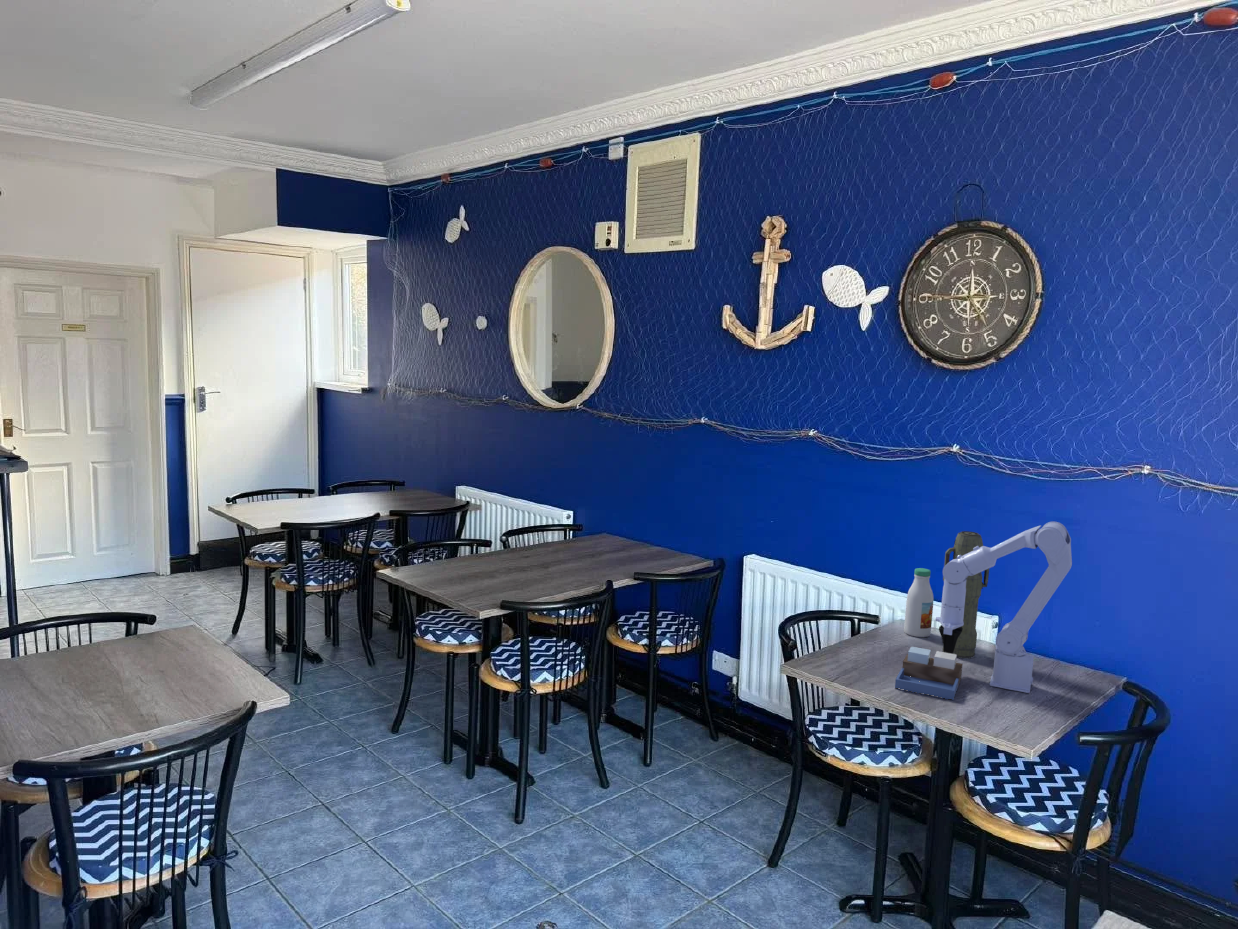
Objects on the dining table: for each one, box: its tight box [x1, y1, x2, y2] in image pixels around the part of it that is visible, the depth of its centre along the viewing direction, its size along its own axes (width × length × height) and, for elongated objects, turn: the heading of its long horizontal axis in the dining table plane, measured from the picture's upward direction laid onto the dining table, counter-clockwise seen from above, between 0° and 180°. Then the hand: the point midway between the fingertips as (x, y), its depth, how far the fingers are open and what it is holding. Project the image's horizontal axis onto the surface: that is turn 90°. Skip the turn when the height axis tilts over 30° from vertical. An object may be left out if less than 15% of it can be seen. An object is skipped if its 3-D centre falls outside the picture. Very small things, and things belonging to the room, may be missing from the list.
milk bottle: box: [903, 567, 934, 638], centre depth 268 cm, size 8×8×20 cm
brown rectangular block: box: [901, 653, 963, 687], centre depth 233 cm, size 14×7×4 cm, turn 63°
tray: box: [894, 667, 959, 701], centre depth 225 cm, size 14×10×2 cm
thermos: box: [941, 530, 990, 659], centre depth 251 cm, size 9×12×35 cm
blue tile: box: [907, 646, 932, 665], centre depth 234 cm, size 5×5×2 cm
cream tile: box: [933, 650, 958, 670], centre depth 231 cm, size 5×5×2 cm
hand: (948, 653), depth 238 cm, fingers closed
